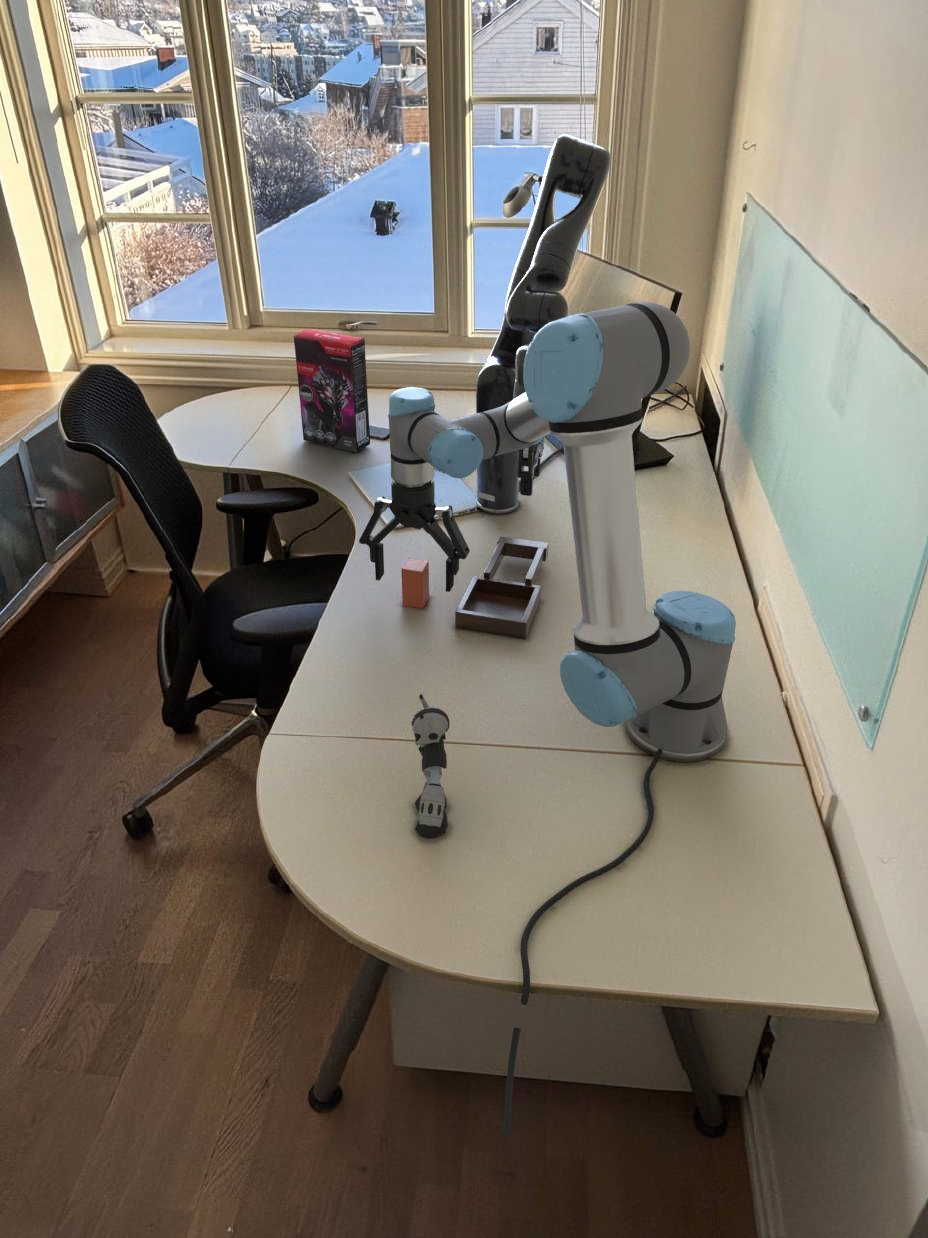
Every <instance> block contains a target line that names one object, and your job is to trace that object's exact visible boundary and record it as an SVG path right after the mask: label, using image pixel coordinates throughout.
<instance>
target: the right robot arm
mask: <svg viewBox="0 0 928 1238" xmlns="http://www.w3.org/2000/svg"><path fill="white" fill-rule="evenodd" d="M690 344H691V343H690V337H689V334H688V330H687V328H686V326H685V324H684V322H683V321H682V319H681V318H680V317H679V316H678V314H676V312H674V311H672V310H671V309H670V308H668V307H666V306H664V305H662V304H660V303H655V302H649V301H637V302H632V303H627V304H625V305H619V306H613V307H608V308H604V309H598V310H592V311H587V312H582V313H574V314H571V315H569V314H568V316H567V317H565V318H562V319H559V320H556V321H553V322H550V323H548V324H546V325H545V326H543V327H542V328H541V329H540V330H539V331H538V332H537V333H536V335H535V336H534V339H533V341H532V342H531V343H530V344H529V347H528V349H527V352H526V356H525V361H524V371H523V379H524V387H525V393H523V394H522V395H520V396H518V397H517V398H515V399H513V400H512V401H510V402H508V403H507V404H505V405H503V406H501V407H498V408H495V409H492V410H488V411H485V412H480V413H476V412H475V413H473V414H469V415H465V416H460V417H457V418H453V419H448V418H446V417H444V416H443V415H440V414H439V413H438V412H436V411H435V410H436V404H435V397H434V395H433V393H432V392H431V391H430V390H428V389H426V388H423V387H417V386H415V387H414V386H411V387H410V386H409V387H403V388H399V389H396V390H395V391H392V393H391V394H390V396H389V399H388V400H389V401H388V414H387V418H388V431H389V433H388V435H389V452H390V477H391V481H390V484H391V485H390V486H391V488H390V489H391V491H390V492H391V493H390V494H391V500H389V499H386V497H385V496H384V495H379V496H378V498H377V499H376V500H375V502H373V503H374V504H373V513H372V514H371V516H370V518H369V520H368V522H367V524H366V526H365V528H364V530H363V531H362V534H361V535H360V537H359V539H358V542H359V544H360V545H367V547H368V548H369V561H370V562H371V563H374V573H375V574H374V575H375V581H380V580H381V579H382V578H383V576H384V575H385V557H384V556H385V553H384V543H383V542H382V541H383V540H384V539H385V538H386V537H387V536H388V535H389V534H390V533H391V532H392V531H393V530H394V529H396V528H397V527H398V526H399V525H401V526H403V528H406V529H407V528H413V529H415V530H421V529H423V530H424V532H425V533H426V534H427V535H430V537H431V538H432V539H433V540H434V541H435V542H436V544H437V545H438V547H439V548H440V549H441V550H442V551H443V552H444V554H445V555H446V556H447V558H446V560H445V592H446V593H450V592H451V591H452V589H453V587H454V585H455V576H457V574H458V573H459V570H460V560H466V559H467V557H468V555H469V553H470V547H469V546H468V543H467V541H466V539H465V538H464V535H463V533H462V532H461V529H460V527H459V525H458V523H457V521H456V520H455V517H454V511H453V510H454V509H453V506H452V505H450V504H447V505H446V506H445V507H443V506H442V507H441V506H437V505H436V502H435V495H436V494H435V492H436V491H435V479H434V478H435V470H437V471H438V472H440V473H442V474H446V475H448V476H449V477H451V478H454V479H465V478H467V477H469V476H471V475H472V474H473V472H474V471H476V470H477V468H478V467H479V465H480V463H481V461H482V460H485V459H488V458H492V457H494V456H497V455H501V454H505V453H508V452H512V451H516V450H522V449H526V448H528V447H531V446H532V445H535V444H538V443H539V442H541V441H542V440H543V437H544V438H545V437H546V436H547V435H550V434H551V435H552V436H554V437H555V438H556V439H557V440H559V441H560V443H562V446H564V449H563V453H564V454H563V455H564V462H565V463H564V465H565V471H566V481H567V491H568V500H569V507H570V516H571V525H572V534H573V544H574V552H575V553H574V554H575V561H576V568H577V569H576V570H577V577H578V578H577V579H578V587H579V596H580V597H579V598H580V604H581V605H580V606H581V613H582V617H581V618H580V619H578V621H577V622H576V623H575V624H574V626H573V627H572V632H573V633H572V634H573V641H574V650H571V651H567V653H566V655H564V656H563V658H562V660H561V661H560V665H559V675H560V676H559V677H560V680H561V684H562V687H563V689H564V691H565V694H566V695H567V697H568V699H569V700H570V702H571V703H572V705H573V706H574V707H575V709H576V710H577V711H578V712H579V713H580V714H581V715H582V716H583V717H584V718H585V719H586V720H588V721H590V722H591V723H593V724H595V725H597V726H600V727H604V728H605V727H606V728H612V727H616V726H618V725H621V724H624V723H625V728H626V732H627V734H628V736H629V738H630V739H631V741H632V742H634V744H636V745H637V746H638V747H639V748H640V749H641V750H643V751H645V752H646V753H648V754H650V755H651V756H653V758H652V761H651V763H650V764H649V765H648V767H647V769H646V771H645V774H644V779H643V791H644V796H645V797H644V798H645V801H646V805H647V812H648V813H647V818H646V822H645V825H644V827H643V829H642V831H641V833H640V835H639V836H638V837H637V839H636V840H635V841H634V842H633V843H632V844H631V845H630V846H629V847H628V848H627V849H626V850H625V851H624V852H622V853H621V854H620V855H619V856H618V857H616V859H614V860H612V861H611V862H609V863H608V864H606V865H604V866H602V867H600V868H597V869H595V870H594V871H591V872H589V873H587V874H585V875H583V876H580V877H579V878H577V879H575V880H574V881H571V882H570V883H569V884H568V885H566V886H564V888H562V889H561V890H559V891H558V892H556V893H555V894H554V895H553V896H551V897H550V898H549V899H548V900H546V901H545V902H543V904H541V905H540V907H538V909H536V911H535V912H534V913H533V914H532V916H531V917H530V919H529V920H528V922H527V924H526V926H525V928H524V930H523V933H522V934H521V935H522V936H521V940H520V959H521V968H522V990H521V997H520V998H521V999H520V1004H521V1005H523V1006H526V1005H528V1003H529V998H530V989H531V971H530V964H529V963H530V962H529V955H528V941H529V937H530V935H531V933H532V930H533V928H534V926H535V925H536V923H537V922H538V920H540V918H541V917H542V915H544V913H546V911H548V910H549V909H550V908H551V907H552V906H554V904H556V903H558V902H559V901H560V900H562V899H563V897H566V895H568V894H569V893H571V892H572V891H573V890H575V889H576V888H578V887H580V886H581V885H583V884H586V883H587V882H589V881H592V880H594V879H595V878H599V876H602V875H604V874H606V873H608V872H610V871H612V870H613V869H615V868H617V867H618V866H620V865H621V864H622V863H623V862H624V861H626V860H627V859H628V858H629V857H630V856H631V855H632V854H633V853H634V852H635V851H636V850H637V849H638V848H639V847H640V846H641V845H642V844H643V842H644V841H645V839H646V838H647V836H648V835H649V833H650V830H651V828H652V825H653V821H654V818H655V806H654V802H653V798H652V794H651V789H650V787H651V786H650V781H651V776H652V774H653V772H654V770H655V768H656V766H657V764H658V762H659V760H660V759H662V760H666V761H670V762H675V763H694V762H700V761H703V760H706V759H709V758H711V757H714V755H716V754H718V752H720V751H721V750H722V748H723V747H724V744H725V743H726V740H727V739H726V738H727V734H728V721H727V716H726V712H725V708H724V707H725V706H724V701H723V692H724V686H725V682H726V678H727V674H728V668H729V664H730V659H731V654H732V651H733V650H732V649H733V645H734V643H735V641H736V635H735V634H736V627H737V621H736V617H735V615H734V613H733V611H732V610H731V609H730V608H729V607H728V606H727V605H726V604H724V603H723V602H722V601H720V600H719V599H717V598H714V597H712V596H709V595H707V594H703V593H699V592H694V591H689V590H671V591H667V592H664V593H663V594H661V595H659V596H658V597H657V599H656V600H655V603H654V604H653V607H652V611H653V613H651V612H650V610H649V611H648V609H647V598H646V589H645V588H646V587H645V577H644V576H645V575H644V564H643V553H642V542H641V531H640V528H641V527H640V519H639V518H640V517H639V516H640V515H639V506H638V495H637V483H636V473H635V459H634V449H633V447H634V446H633V437H632V436H633V433H634V432H635V430H636V429H637V428H638V427H639V426H640V425H641V423H642V422H643V412H642V410H643V409H642V407H643V406H642V404H643V403H642V399H644V398H648V397H651V396H653V395H656V394H659V393H661V392H663V391H665V390H667V389H668V388H670V387H672V385H674V384H675V383H676V382H677V381H678V380H679V378H680V377H681V376H682V375H683V373H684V372H685V369H686V367H687V365H688V363H689V362H688V361H689V358H690V351H691V345H690ZM388 509H389V510H390V512H391V513H392V515H393V518H391V520H389V521H388V522H387V523H386V524H385V525H384V526H383V528H381V529H380V530H379V531H378V532H377V534H375V535H374V536H372V534H373V531H374V529H375V527H376V525H377V524H378V522H379V520H380V518H381V517H382V514H383V513H384V512H386V511H387V510H388ZM435 516H438V517H439V520H440V521H442V524H443V527H444V529H445V530H446V532H447V533H446V532H445V531H444V529H443V528H442V527H441V526H440V525H439V521H438V520H437V519H436V517H435ZM521 1030H522V1029H521V1028H520V1027H516V1026H514V1027H513V1029H512V1034H511V1035H512V1036H511V1042H510V1048H509V1054H508V1063H507V1071H506V1082H505V1099H504V1101H505V1102H504V1117H503V1131H502V1133H503V1135H504V1136H505V1137H506V1136H509V1135H510V1131H511V1120H512V1119H511V1118H512V1105H513V1103H512V1102H513V1088H514V1078H515V1077H514V1076H515V1066H516V1060H517V1053H518V1046H519V1039H520V1035H521V1034H520V1033H521Z"/></svg>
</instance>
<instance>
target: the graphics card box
mask: <svg viewBox="0 0 928 1238" xmlns="http://www.w3.org/2000/svg"><path fill="white" fill-rule="evenodd" d="M293 344H294V352H295V353H294V354H295V365H296V375H297V385H298V386H297V387H298V395H299V407H300V418H301V427H302V439H303V441H305V442H308V443H314V444H318V445H322V446H327V447H331V448H336V449H340V450H344V451H348V452H354V453H359V452H360V451H361V450H363V449H365V448H367V447H369V446H370V445H371V433H370V412H369V399H368V380H367V378H368V377H367V376H368V375H367V359H366V357H367V356H366V339H365V337H358V336H352V335H346V334H342V333H336V332H330V331H325V330H319V329H313V328H305V329H303V330H301V331H299V332H297V333H295V335H294V336H293Z"/></svg>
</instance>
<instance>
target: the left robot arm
mask: <svg viewBox="0 0 928 1238" xmlns="http://www.w3.org/2000/svg"><path fill="white" fill-rule="evenodd" d="M551 147H552V148H551V150H550V153H549V155H548V159H547V162H546V165H545V169H544V173H543V176H542V179H541V184H540V187H539V192H538V194H537V198H536V202H535V206H534V210H533V212H532V216H531V220H530V223H529V226H528V228H527V229H528V230H527V232H526V234H525V238H524V241H523V243H522V246H521V248H520V251H519V254H518V257H517V260H516V262H515V265H514V269H513V272H512V274H511V278H510V280H509V285H508V289H507V292H506V297H505V298H506V299H505V303H504V312H503V317H502V324H501V328H500V330H499V334H498V336H497V338H496V341H495V343H494V344H493V348H492V350H491V352H490V354H489V356H488V358H487V360H486V361H485V363H484V364H483V366H482V367H481V370H480V372H479V373H478V375H477V377H476V385H475V386H476V388H475V389H476V390H475V414H476V413H480V412H485V411H488V410H492V409H495V408H498V407H501V406H503V405H505V404H507V403H508V402H510V401H512V400H513V399H515V398H517V397H518V396H520V395H522V394H523V393H525V387H524V379H523V371H524V361H525V356H526V352H527V349H528V347H529V344H530V343H531V342H532V341H533V339H534V336H535V335H536V333H537V332H538V331H539V330H540V329H541V328H542V327H543V326H545V325H546V324H548V323H550V322H553V321H556V320H559V319H562V318H565V317H567V316H569V313H570V306H569V302H568V300H567V298H566V297H565V295H563V293H561V291H562V290H563V289H564V288H565V287H566V286H567V284H568V282H569V279H570V276H571V272H572V268H573V266H574V262H575V258H576V254H577V251H578V249H579V246H580V243H581V241H582V239H583V236H584V234H585V232H586V230H587V228H588V226H589V225H590V222H591V219H592V217H593V214H594V212H595V210H596V207H597V205H598V202H599V200H600V198H601V195H602V192H603V189H604V188H605V184H606V182H607V179H608V175H609V172H610V169H611V168H610V167H611V162H612V156H611V155H612V154H611V152H610V151H609V150H608V149H607V148H605V147H603V146H601V145H599V144H594V143H592V142H589V141H587V140H584V139H581V138H578V137H577V136H574V135H570V134H567V133H561V134H559V136H558V137H557V138H556V140H555V141H554V142H553V145H552V146H551ZM557 192H559V193H562V194H565V195H568V196H570V197H573V198H576V199H579V201H578V203H577V204H576V205H575V206H574V207H573V208H572V209H570V211H568V212H567V213H566V214H564V215H563V216H562V217H560V218H558V219H557V220H556V216H555V199H556V193H557ZM687 388H688V385H684V386H682V388H680V389H678V391H676V392H675V393H673V394H672V395H670V396H668V397H666V398H665V399H663V400H660V401H659V402H656V403H655V404H652V405H650V406H648V407H649V410H651V409H654V408H656V407H658V406H660V405H662V404H664V403H666V402H668V401H669V400H671V399H673V398H675V397H676V396H678V395H680V394H681V393H682V392H683V391H685V390H686V389H687ZM544 443H545V436H544V437H543V440H542V441H541V442H539V443H538V444H535V445H532V446H531V447H528V448H526V449H522V450H516V451H512V452H508V453H505V454H501V455H497V456H494V457H492V458H488V459H485V460H482V461H481V463H480V465H479V467H478V468H477V469H476V470H477V471H476V478H477V479H476V499H477V501H478V502H479V503H480V504H481V505H482V506H481V507H480V506H479V505H478V504H477V502H476V501H475V504H476V507H477V508H478V509H479V510H480V511H482V512H484V513H489V514H495V515H503V514H508V513H511V512H514V511H516V510H517V509H518V507H519V494H520V495H521V496H525V497H526V496H527V497H529V496H532V494H533V488H534V487H533V486H534V485H533V484H534V478H538V477H539V476H540V474H541V468H542V467H543V466H544V465H545V464H546V463H547V462H549V461H550V460H551V459H552V458H553V457H555V456H556V455H558V453H560V452H562V451H564V446H563V445H562V446H560V447H559V448H558V449H556V450H554V452H552V453H551V454H550V455H549V456H547V457H546V458H545V459H544V460H542V461H541V459H542V456H543V453H544V450H545V446H544V445H545V444H544ZM525 467H527V470H524V469H525Z"/></svg>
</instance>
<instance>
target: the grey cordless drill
mask: <svg viewBox="0 0 928 1238" xmlns="http://www.w3.org/2000/svg"><path fill="white" fill-rule="evenodd" d="M418 697H419V698H418V699H419V701H420V703H421V705H422V708H421V709H420V710H419V711H418V712H416V714H414V715H413V717H412V720H411V721H410V722H411V723H410V724H411V731H412V732H413V734H414V745H416V746H417V749H418V752H419V753H420V755H421V772H422V773H423V775H424V776H425V780H426V782H425V783H424V786H423V789H422V792H421V793H420V795H419V796H418V797H417V799H416V800H415V802H414V806H415V808H416V811H417V812H418V821H417V822H416V825H415V828H414V831H415V832H416V833H417V834H418V835H419V836H420V837H421V838H424V839H435V838H438V837H439V836H443V835H444V834H446V832H447V829H448V826H449V823H448V816H447V813H446V811H445V810H446V809H447V808H448V805H447V804H448V803H447V796H446V793H445V790H444V787H443V786H442V784H441V782H440V781H441V779H442V777H443V772H442V769H447V768H448V757H447V752H446V749H445V743H444V741H445V740H446V739H447V738H446V733H448V730H449V729H450V718H449V715H448V714H447V712H445V711H444V710H442V709H441V708H439V707H437V706H430V705H429V704H428V702H427V700H426V698H425V697H424V695H423V693H420V694H419V695H418ZM418 746H419V747H418Z"/></svg>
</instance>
